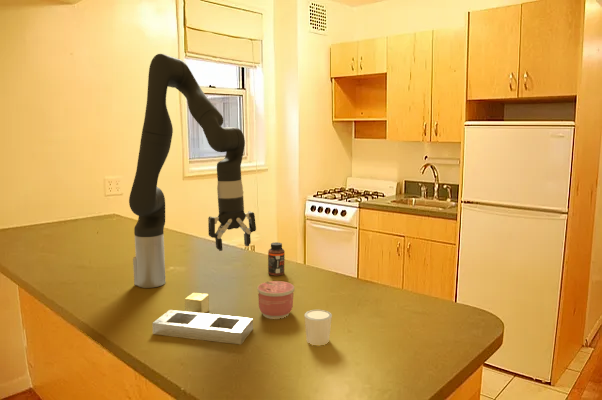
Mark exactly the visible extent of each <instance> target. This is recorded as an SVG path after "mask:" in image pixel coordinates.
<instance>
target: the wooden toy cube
mask: <svg viewBox="0 0 602 400" xmlns="http://www.w3.org/2000/svg"><path fill="white" fill-rule="evenodd" d="M184 311H187V312H197V313H206V314H208V312H210V295H209V293H200V292H192V293H191V294H189V295H188V296H187V297H185V298H184Z"/></svg>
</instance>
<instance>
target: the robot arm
mask: <svg viewBox="0 0 602 400" xmlns="http://www.w3.org/2000/svg"><path fill="white" fill-rule="evenodd" d="M148 68H149V69H148V76H147V78H148V79H147V80H148V81H147V94H146V95H147V97H146V107H145V113H144V120H143V124H142V130H141V137H140V144H139V152H138V156H137V157H138V158H137V163H136V171H135V175H134V178H133V183H132V187H131V190H130V193H129V197H128V204H129V208H130V211H132V213H133V214H135V215H136V216H137V217H138V218H137V222H136V224H135V226H134V229H133V233H134V248H135V249H134V250H135V256H134V257H133V258H132V264H133V283H134V286H137V287H139V288H144V289H150V288H157V287H161V286H163V285H165V284H166V264H165V263H166V262H165V261H166V260H165V255H166V254H165V237H164V236H165V235H164V230H165V229H164V228H165V225H166V199H165V198H166V197H165V195H164V194H165V193H164V192H163V190H162V189H161V188H160V187H158V182H159V181H158V180H159V176H160V173H161V172H162V171H161V170H162V168H163V166H164V165H165V162H166V161H167V157H168V156H169V154H170V150H171V145H172V139H173V133H174V129H173V123H172V121H171V116H170V114H169V110H168V107H167V106H168V105H167V92H168V88H175V89H177V90H178V91H179V92H180V93H181V94H182V95H183V96H184V97H185V98H186V101H187V107H188V110H189V113H190V115H191V116H192V118H193V119H194V120H195V122H197V124H198V125H199V126H200V127H201V128H202V131H203V133H204V137H205V138H206V140H207V143H208V145H209V147H210V148H211V149H212V150H213V151H215V152H216V153H225V156H224V159H222V160H219V161H218V162H217V163H216V164H217V165H216V175H217V176H216V177H217V188H216V189H217V190H216V191H217V204H218V205H217V206H218V215H217V216H208V218H207V219H208V221H207V223H208V236H209V237H210V238H212V239H213V238H214V239H215V248H216V249H217V251H219V252H220V251H221V252H222V251H223V239H222V236H224V233H226V231H227V230H228V231H229V230H233V229H239V228H240V229H241V230H242V231H243V232H244V233H243V238H244V239H243V240H244V246H245V247H250V245H251V242H252V239H251V234H252V233H253V232H257V225H256V217H255V215H256V214H255V213H254V211H250V210H249V211H248V212H245V205H244V204H245V203H244V201H245V200H244V187H243V181H242V165H241V164H242V161H243V158H244V157H243V156H244V153H245V152H244V151H245V144H246V143H245V142H246V140H245V136H244V133H243V131H242V130H241V129H240V128H238V127H231V126H228V127H223V124H224V117H223V115H222V113H221V112H220V111H219V110H218V109H217V108H216V107H215V105H214V104H213V102H212V101H210V99H209V98H208V96H207V95H206V94H205V92H204V91H203V89H202V88H201V86H200V85H199V83H198V82H197V80H196V78H195V76H194V74H193V72H192V71H191V69H190V68H189V66H188V65H187V64H186V62H185V61H184V60H183V59H180V58H179V57H178V58H177V57H174V56H171V55H168V54H164V53H157V54H156V55H154V56H153V58H152V60H151V61H150V64H149V67H148ZM245 219H247V220H248V226H247V225H246V224H245V223H244V221H245ZM218 222H219V226H218V227H217V230H216V224H217V223H218Z"/></svg>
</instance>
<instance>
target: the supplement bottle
mask: <svg viewBox="0 0 602 400" xmlns="http://www.w3.org/2000/svg"><path fill="white" fill-rule="evenodd" d="M267 257H268V259H267V261H268V262H267V264H268V265H267V272H268V274H269V275H270V276H274V277H275V276H276V277H277V276H283V275H284V274H285V261H286V260H285V259H286V258H285V257H286V255H285V250H284V248H283V243H282V242H272V243H270V248H269V249H268V251H267Z"/></svg>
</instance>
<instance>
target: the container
mask: <svg viewBox="0 0 602 400" xmlns="http://www.w3.org/2000/svg"><path fill="white" fill-rule="evenodd" d="M256 288H257V289H256V290H257V292H258V293H257V295H258V296H257V297H258V308H259V310H260V312H261V313H262V316H263V317H265V318H267V319H270V320H273V319H274V320H280V318H281V319H284V317H285V318H287V317H289V314H290V313H291V312H292V310H293V306H294V292H295V285H294V284H292V283H290V282H287V281H281V280H274V281H273V280H272V281H266V282H262V283H260V284H258V286H257V287H256ZM286 316H287V317H286Z"/></svg>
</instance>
